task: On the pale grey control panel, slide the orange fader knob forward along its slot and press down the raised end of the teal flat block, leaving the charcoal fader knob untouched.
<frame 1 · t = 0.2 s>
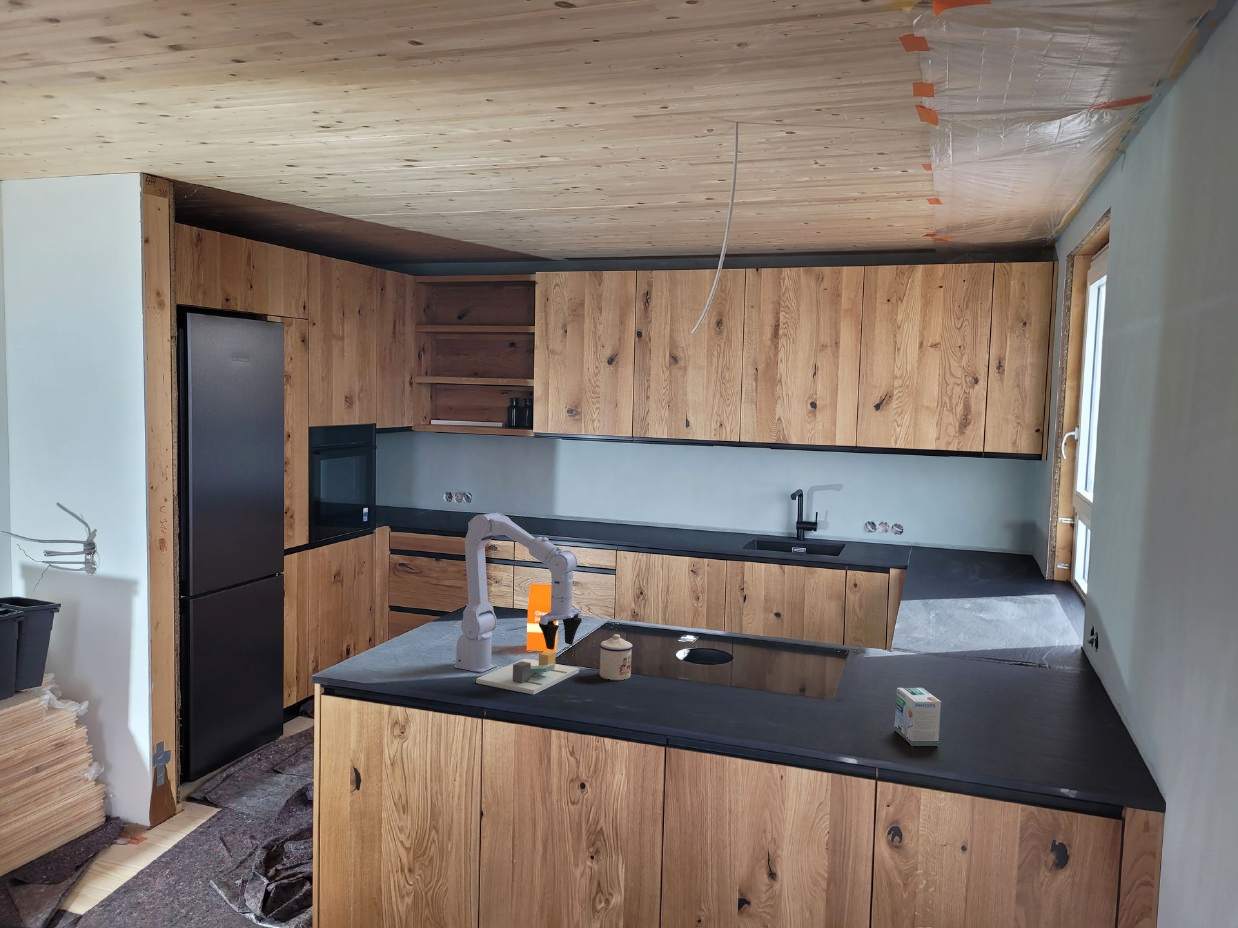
hand: (559, 646, 248), 10 cm above the counter, fingers open, 7 cm apart
panel: (529, 677, 252), on the counter
teacup with lid: (617, 675, 258), on the counter
teal flat block: (537, 668, 250), point 3 cm above the counter, hinge at -12.0°
charcoal fader: (521, 671, 244), point 4 cm above the counter, slide at 0.0 cm
orange fader: (547, 660, 256), point 4 cm above the counter, slide at 0.0 cm
orange juice: (541, 649, 283), on the counter
light bulb box: (915, 739, 215), on the counter
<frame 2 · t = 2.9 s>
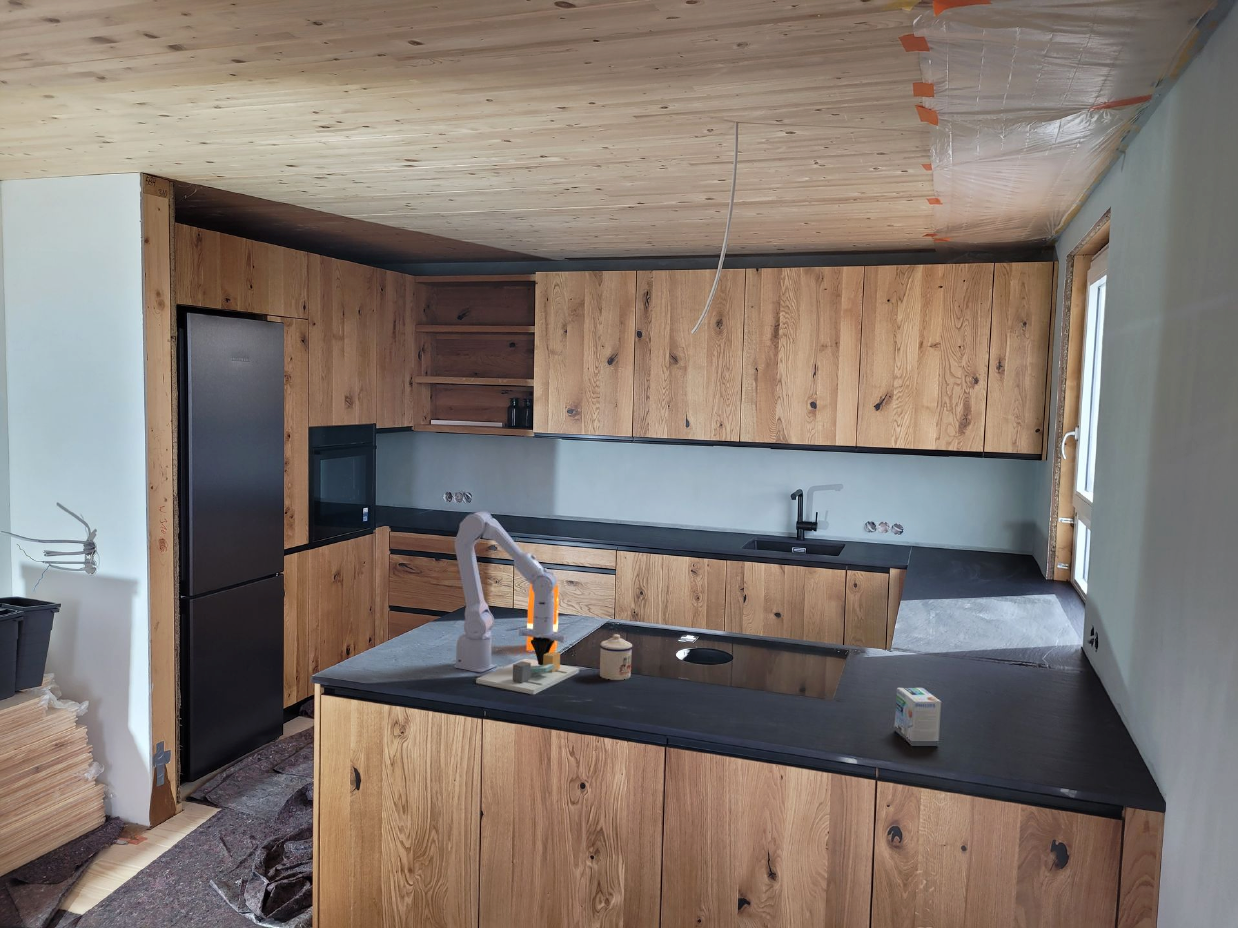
hand: (541, 664, 257), 2 cm above the counter, fingers closed
orange fader: (551, 661, 255), point 4 cm above the counter, slide at 1.5 cm, touching gripper
everything else where it was.
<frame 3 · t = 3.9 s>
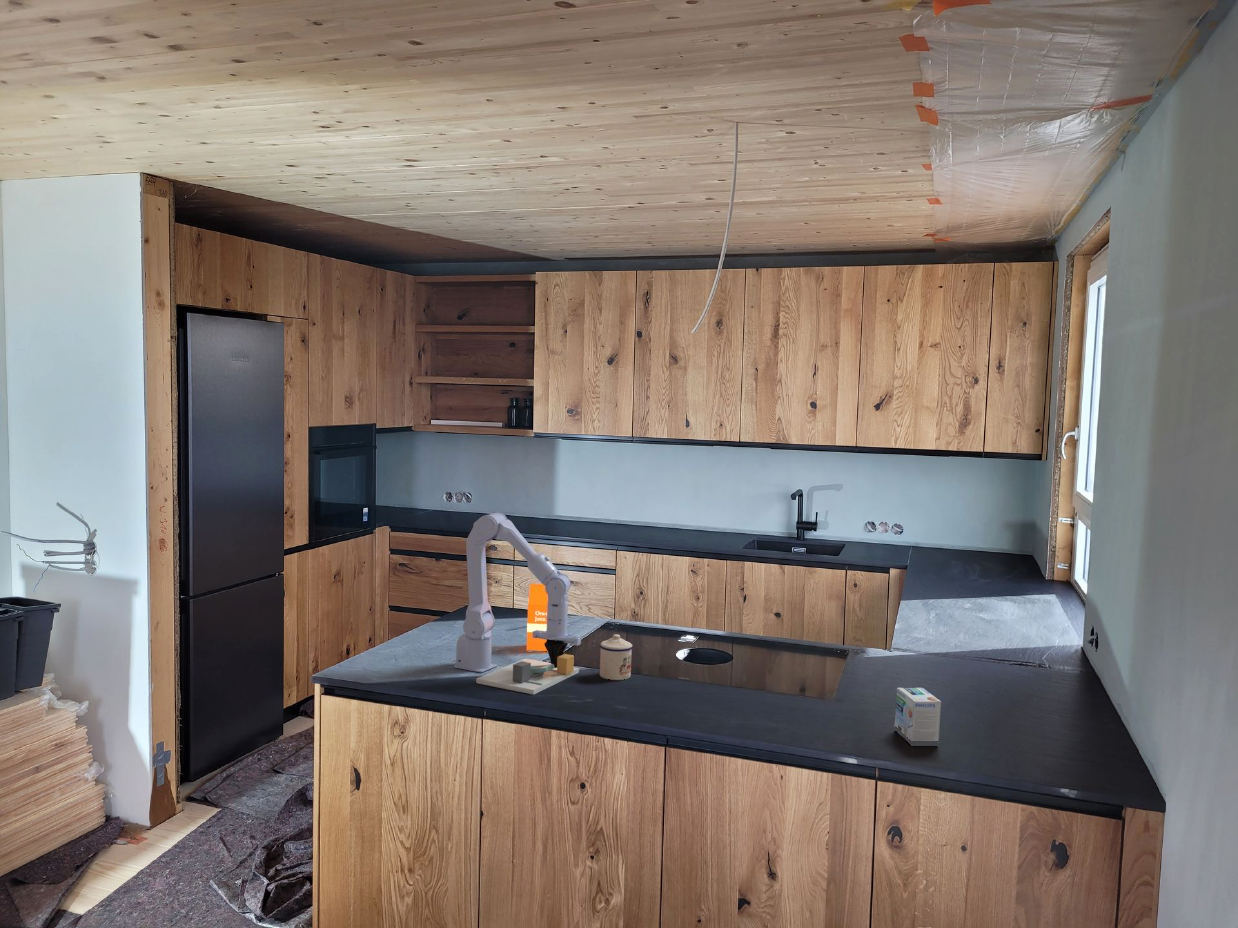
hand: (555, 666, 255), 2 cm above the counter, fingers closed
orange fader: (565, 664, 253), point 4 cm above the counter, slide at 5.9 cm, touching gripper
everything else where it was.
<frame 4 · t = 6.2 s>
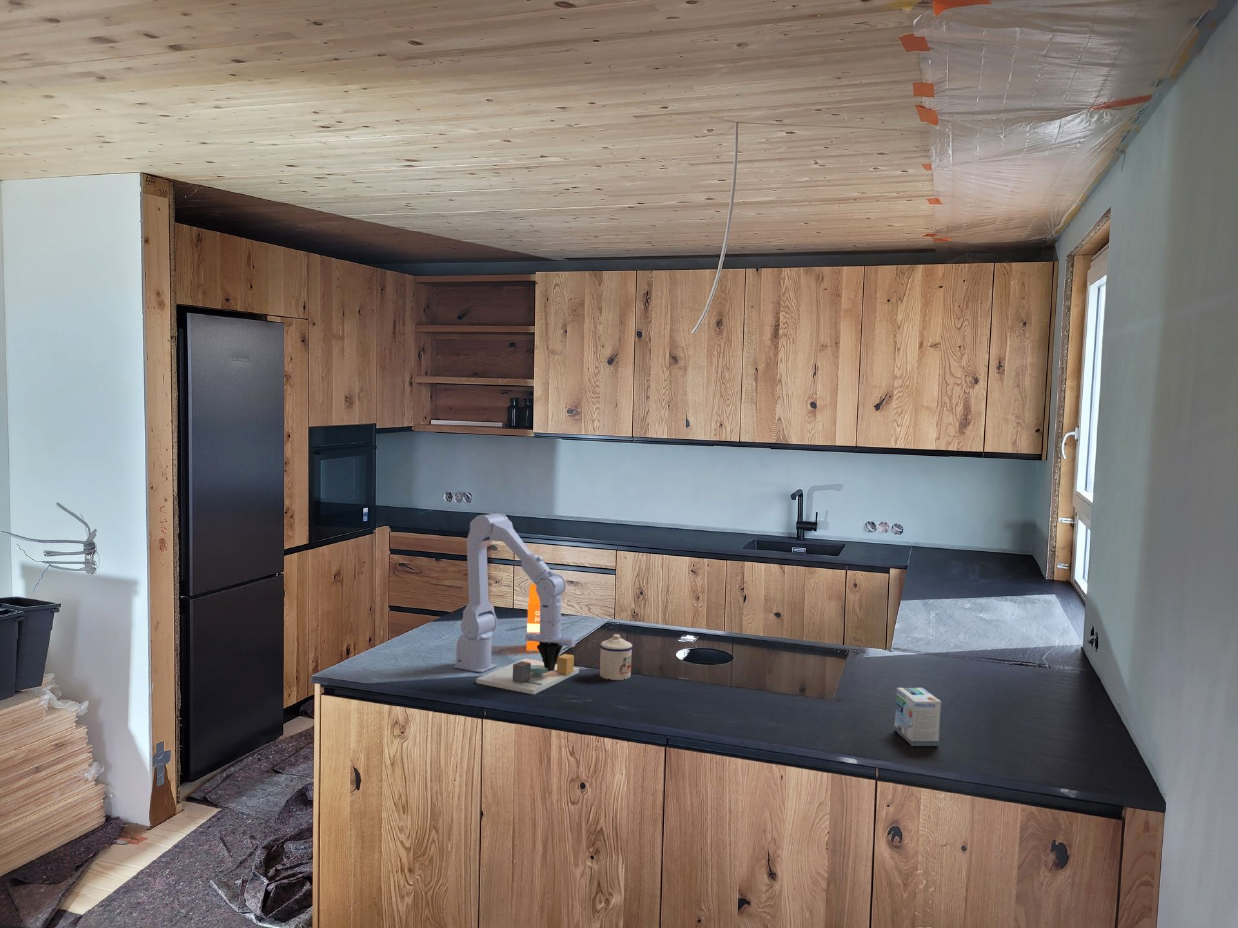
hand: (549, 669, 248), 3 cm above the counter, fingers closed, pressing on teal flat block
teal flat block: (537, 668, 250), point 3 cm above the counter, hinge at -7.9°, touching gripper
orange fader: (565, 664, 253), point 4 cm above the counter, slide at 5.9 cm
everything else where it was.
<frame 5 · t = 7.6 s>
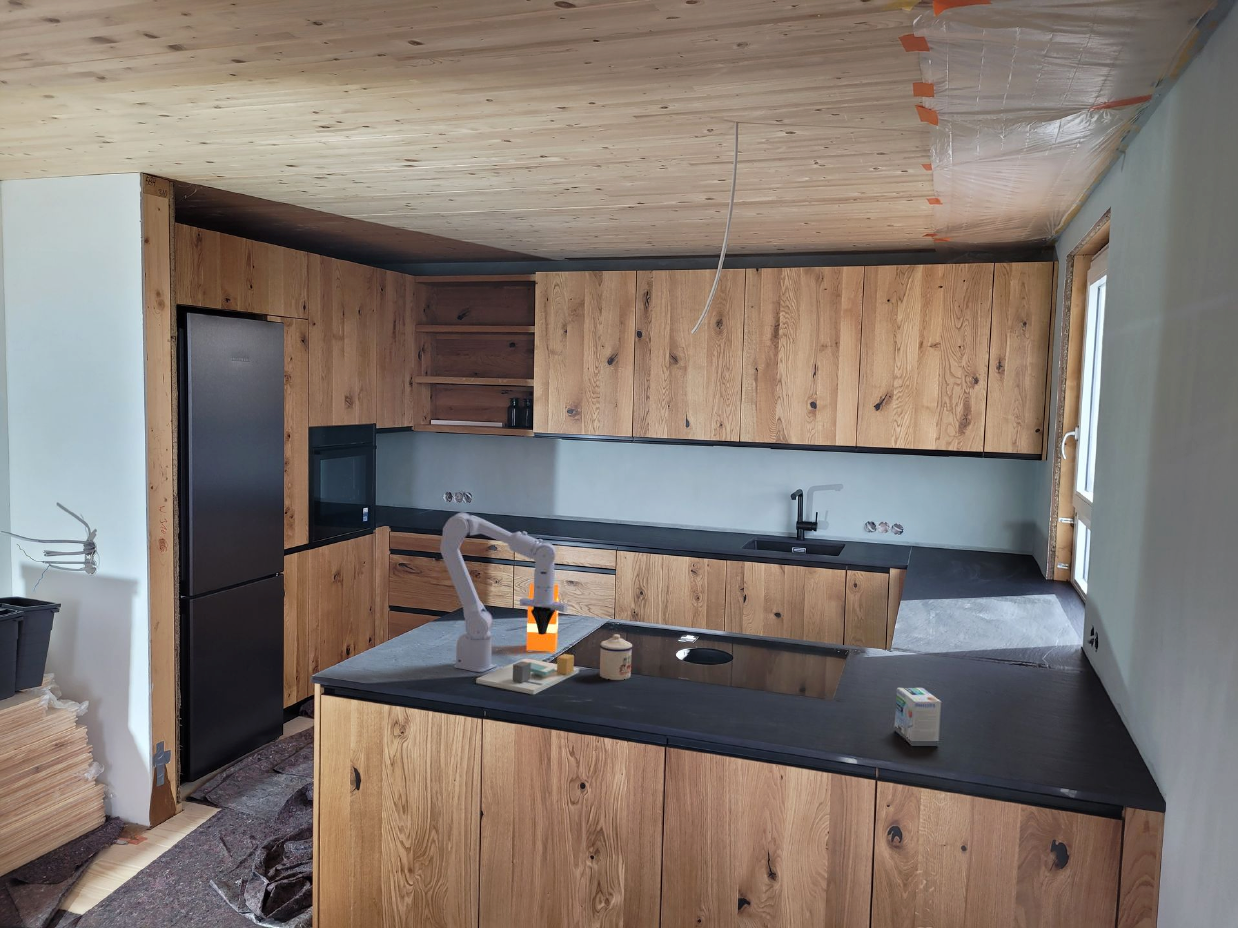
hand: (542, 633, 259), 10 cm above the counter, fingers closed
teal flat block: (537, 668, 250), point 3 cm above the counter, hinge at 4.4°
everything else where it was.
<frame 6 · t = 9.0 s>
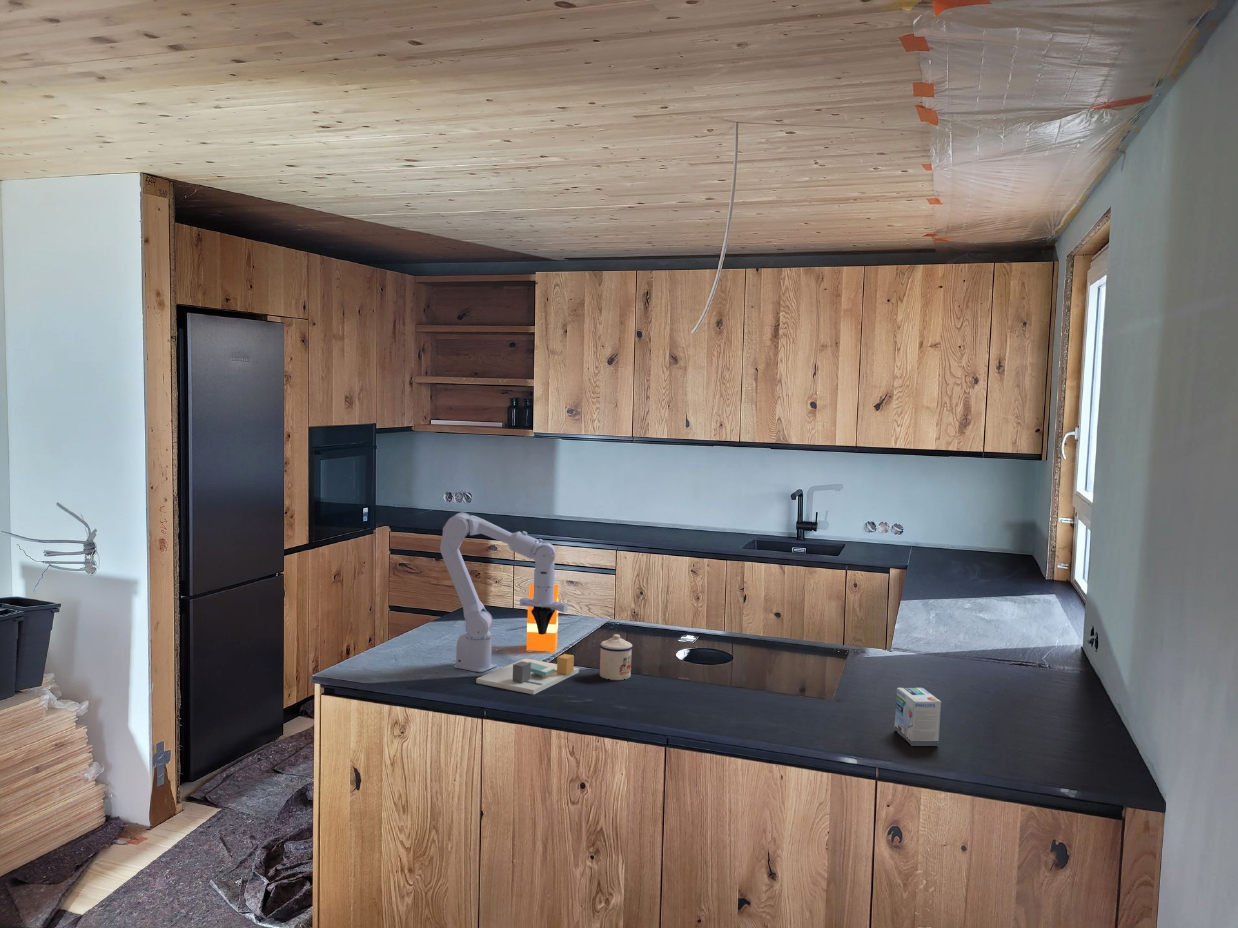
hand: (542, 633, 259), 10 cm above the counter, fingers closed
teal flat block: (537, 668, 250), point 3 cm above the counter, hinge at 5.3°
everything else where it was.
at the end: orange fader slide at 5.9 cm; teal flat block at +5° (first picture: -12°); charcoal fader slide at 0.0 cm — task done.
